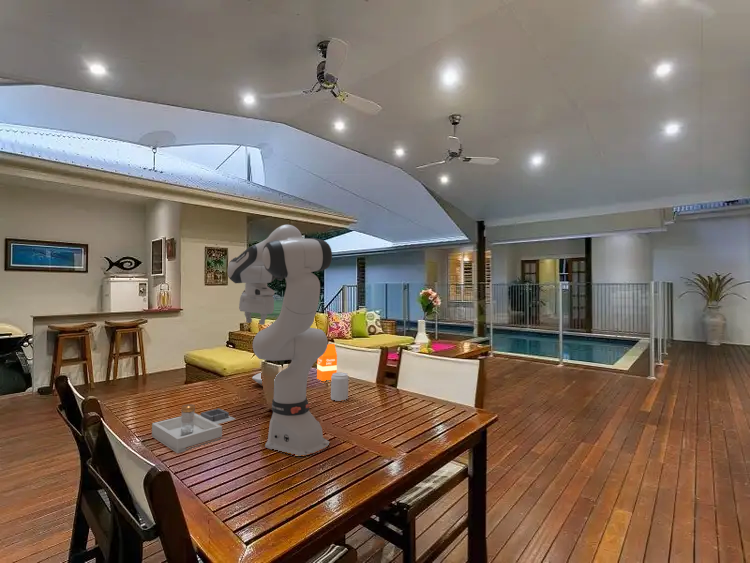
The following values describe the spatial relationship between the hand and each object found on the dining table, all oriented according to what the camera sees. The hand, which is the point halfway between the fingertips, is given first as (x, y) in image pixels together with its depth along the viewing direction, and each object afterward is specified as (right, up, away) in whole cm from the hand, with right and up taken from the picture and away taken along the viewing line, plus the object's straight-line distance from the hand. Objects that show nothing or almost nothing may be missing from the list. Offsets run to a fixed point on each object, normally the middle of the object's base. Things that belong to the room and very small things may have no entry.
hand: (255, 323), depth 164 cm
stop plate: (-13, -37, -11) cm, 40 cm away
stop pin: (-15, -36, -28) cm, 48 cm away
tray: (-15, -37, -28) cm, 49 cm away
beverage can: (+34, -38, +20) cm, 54 cm away
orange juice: (+23, -38, +56) cm, 71 cm away
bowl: (-2, -37, +43) cm, 57 cm away
